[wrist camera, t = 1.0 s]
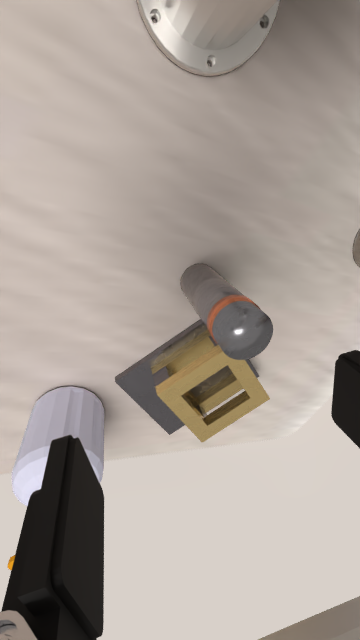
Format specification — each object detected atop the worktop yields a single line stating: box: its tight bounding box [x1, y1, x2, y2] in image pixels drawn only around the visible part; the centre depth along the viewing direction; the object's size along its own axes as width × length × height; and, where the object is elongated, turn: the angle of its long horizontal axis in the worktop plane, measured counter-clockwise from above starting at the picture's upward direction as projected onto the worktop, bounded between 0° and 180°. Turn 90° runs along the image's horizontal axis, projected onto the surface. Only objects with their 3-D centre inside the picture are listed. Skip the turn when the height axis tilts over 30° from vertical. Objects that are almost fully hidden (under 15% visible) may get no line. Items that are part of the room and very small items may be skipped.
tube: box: [180, 264, 273, 360], centre depth 29 cm, size 5×5×14 cm
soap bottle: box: [8, 386, 104, 570], centre depth 29 cm, size 9×9×25 cm
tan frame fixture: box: [115, 319, 270, 442], centre depth 38 cm, size 16×13×6 cm
